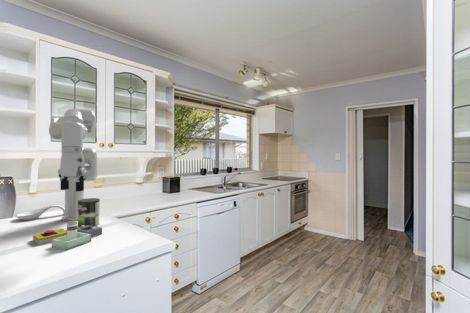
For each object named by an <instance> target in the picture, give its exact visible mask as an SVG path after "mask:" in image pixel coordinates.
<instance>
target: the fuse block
mask: <svg viewBox="0 0 470 313" xmlns="http://www.w3.org/2000/svg"><path fill="white" fill-rule="evenodd" d="M77 232H81V233H86V234H91V238H94V237H96V236H100V235H102V234H103V227H101V226H90V225H87V226H85V225H82V226H81V227H80V228H78V227H77Z"/></svg>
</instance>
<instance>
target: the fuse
mask: <svg viewBox="0 0 470 313" xmlns="http://www.w3.org/2000/svg"><path fill="white" fill-rule="evenodd" d="M77 228H78V220H73V221H66V231H67V242H68V241H71V240H74V239H77Z"/></svg>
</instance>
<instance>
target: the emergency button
mask: <svg viewBox="0 0 470 313" xmlns="http://www.w3.org/2000/svg"><path fill="white" fill-rule="evenodd" d="M66 235H67V229H64V228H58V229H49V230H48V229H47V230H45V231H44V232H43V231H42V232H39V233H35V234H33V235H32V240H29V241H28V243H29V244H31V245H32V246H33V247H38V246H43V245H46V244H52V239H56V238H59V237H62V236H66Z"/></svg>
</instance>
